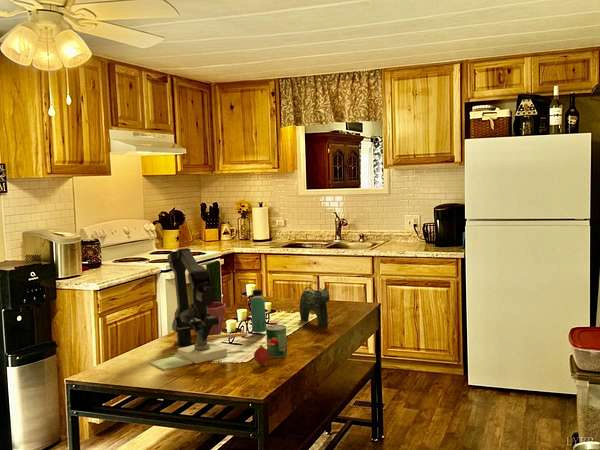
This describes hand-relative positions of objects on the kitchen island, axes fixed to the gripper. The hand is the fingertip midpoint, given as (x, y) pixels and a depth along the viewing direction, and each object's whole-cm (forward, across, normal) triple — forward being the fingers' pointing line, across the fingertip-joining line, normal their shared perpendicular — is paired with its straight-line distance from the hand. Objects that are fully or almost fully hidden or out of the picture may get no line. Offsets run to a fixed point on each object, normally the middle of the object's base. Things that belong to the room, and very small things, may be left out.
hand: (201, 339), depth 259 cm
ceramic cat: (+7, -10, +66) cm, 67 cm away
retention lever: (+2, -2, +11) cm, 11 cm away
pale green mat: (+7, 0, -14) cm, 15 cm away
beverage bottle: (+7, -12, +36) cm, 39 cm away
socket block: (+7, 0, 0) cm, 7 cm away
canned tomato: (+7, +20, +22) cm, 30 cm away
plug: (+6, 0, 0) cm, 6 cm away
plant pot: (+7, -30, +22) cm, 38 cm away
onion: (+7, +28, +9) cm, 30 cm away
